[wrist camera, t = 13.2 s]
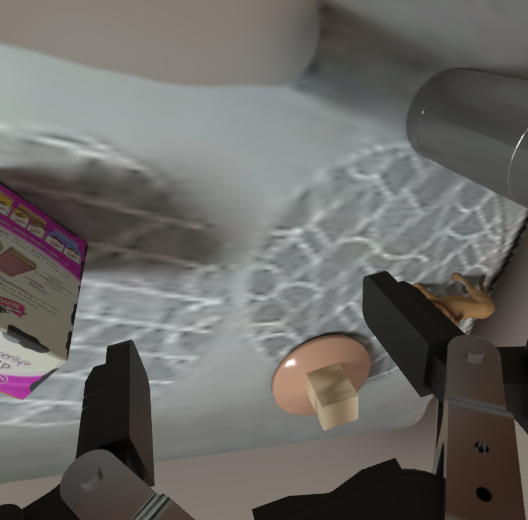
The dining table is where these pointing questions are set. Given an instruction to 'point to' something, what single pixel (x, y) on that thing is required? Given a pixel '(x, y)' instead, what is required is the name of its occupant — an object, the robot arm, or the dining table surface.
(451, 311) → the lion figurine
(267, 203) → the dining table surface
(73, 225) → the dining table surface
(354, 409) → the birch block
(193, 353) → the dining table surface
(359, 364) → the dish
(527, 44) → the dining table surface
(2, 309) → the candy bar box
